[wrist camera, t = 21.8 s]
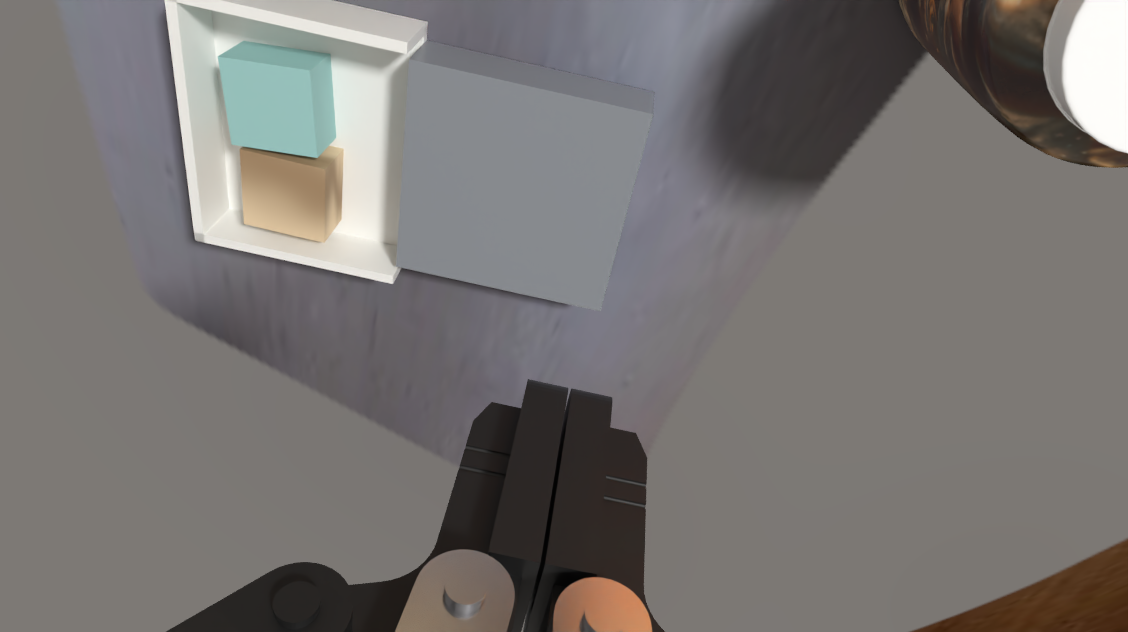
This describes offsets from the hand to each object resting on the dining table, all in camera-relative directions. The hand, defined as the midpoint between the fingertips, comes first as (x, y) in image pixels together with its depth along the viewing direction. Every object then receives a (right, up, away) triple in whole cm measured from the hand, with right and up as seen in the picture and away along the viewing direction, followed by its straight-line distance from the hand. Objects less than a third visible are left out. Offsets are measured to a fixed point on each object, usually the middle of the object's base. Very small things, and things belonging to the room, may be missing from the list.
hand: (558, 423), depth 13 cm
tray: (-15, +13, +32) cm, 38 cm away
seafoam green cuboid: (-16, +13, +28) cm, 35 cm away
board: (-2, +11, +32) cm, 34 cm away
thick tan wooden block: (-17, +9, +31) cm, 36 cm away
